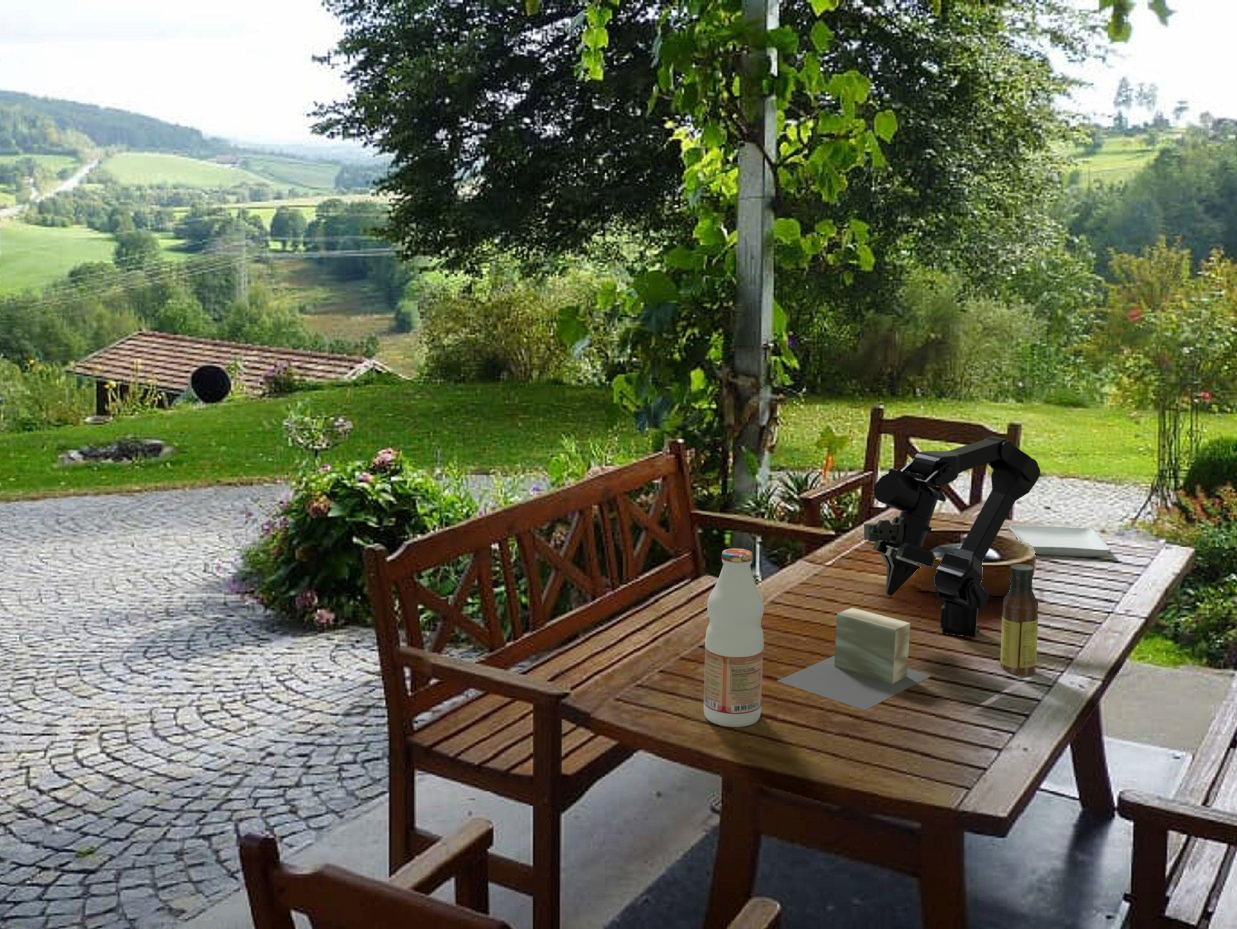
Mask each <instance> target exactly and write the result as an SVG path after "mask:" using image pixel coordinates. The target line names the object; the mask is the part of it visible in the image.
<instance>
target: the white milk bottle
mask: <svg viewBox="0 0 1237 929" xmlns="http://www.w3.org/2000/svg"><path fill="white" fill-rule="evenodd" d="M753 555H754V554H753V552H752V551H750V550H748V549H745V548H738V547H737V548H728V549H724V550H723V551H722V553H721V562H722V568H721V571H720V574H719V575H718V576H719V577H718V579H717V581H716V584H715V585H714V587H713V589H712V590H711V591H710V594H709V595H708V598H707V603H706V604H707V605H706V607H707V613H708V617H709V623H708V625H707V627H706V632H705V640H704V641H705V642H704V643H705V644H704V677H703V680H704V681H703V682H704V683H703V714H704V717H705V719H706V720H708V721H709V722H711V723H713V724H715V725H718V726H723V727H728V728H730V727H731V728H742V727H747V726H751V725H753V724H755V723H757V722H758V721H759V719H760V717H761V713H762V697H763V696H762V694H763V693H762V692H763V666H764V662H763V660H764V647H765V646H764V642H765V641H764V632H763V628H762V626H761V625H762V624H761V622H762V618H763V615H764V610H765V603H764V599H763V595H762V594H761V592H760V591H759V589H758V587H757V585H756V581H755V579H754V575H753V572H752V569H751V564H752V563H753V559H754V558H753V557H754V556H753Z"/></svg>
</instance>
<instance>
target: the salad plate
mask: <svg viewBox="0 0 1237 929" xmlns="http://www.w3.org/2000/svg"><path fill="white" fill-rule="evenodd" d="M1008 527H1009V529H1010V531H1011V532H1012V534H1013V535H1014V536H1015V537H1016V538H1017V540H1018V541H1019V540H1021V541H1022V542H1026V543H1029V544H1030V545H1032V547H1033V548H1034V550H1035V552H1036V554H1035V555H1043V556H1047V555H1048V556H1061V557H1062V556H1065V557H1080V558H1081V557H1085V558H1086V557H1088V558H1090V557H1100V556H1103V555H1107V554H1108V553H1110V551H1111V548H1110V546H1108V544H1106V543H1105V541H1104V540H1103V539H1102V538H1101V537H1100V535H1099V534H1098V533H1097V532H1096V531H1095V530H1094V528H1091V527H1075V526H1073V527H1071V526H1054V525H1053V526H1048V525H1047V526H1045V525H1011V524H1010V525H1009V526H1008Z"/></svg>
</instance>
